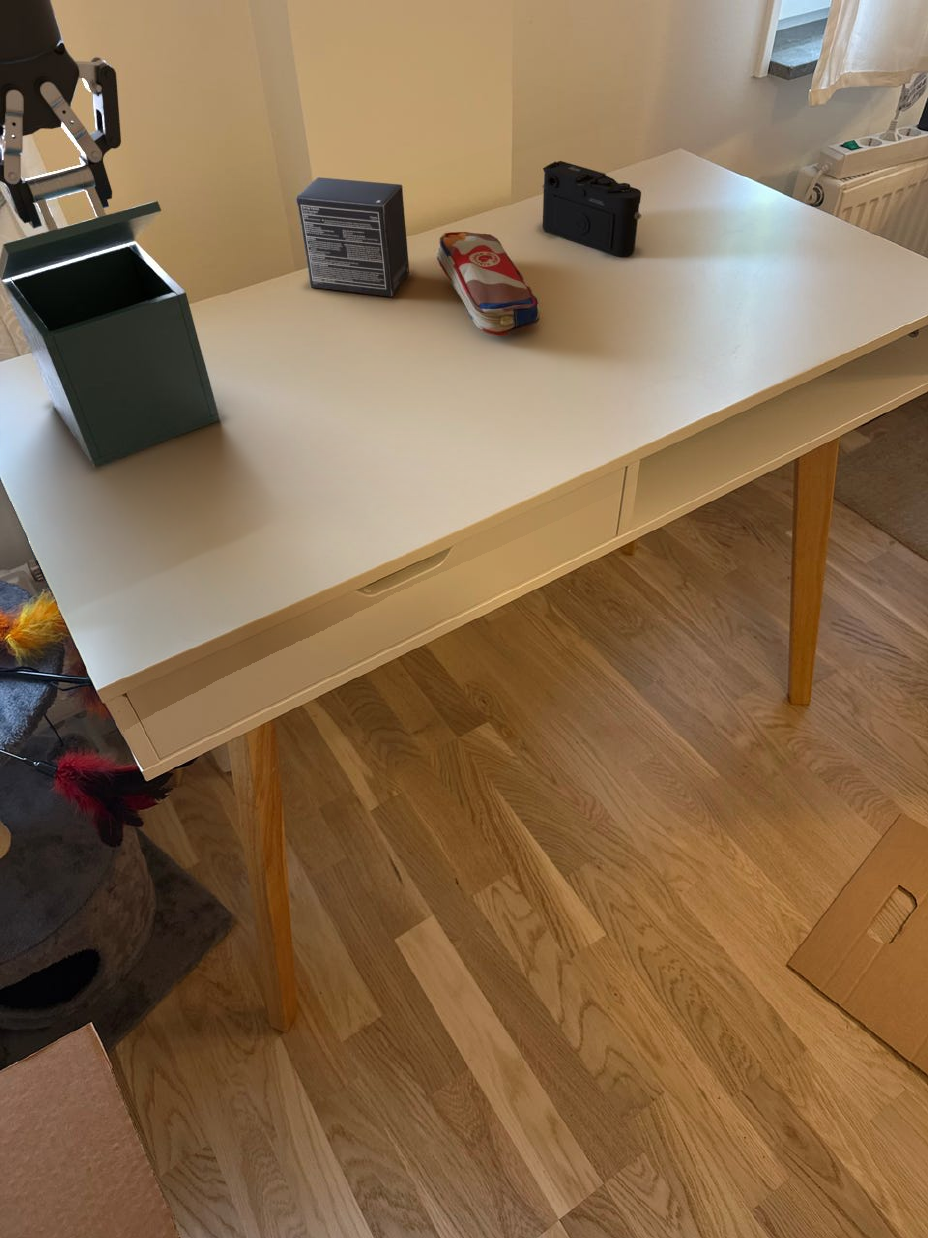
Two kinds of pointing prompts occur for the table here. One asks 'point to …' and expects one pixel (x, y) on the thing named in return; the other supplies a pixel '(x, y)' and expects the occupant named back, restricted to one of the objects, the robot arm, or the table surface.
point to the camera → (590, 208)
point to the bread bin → (115, 350)
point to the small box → (354, 235)
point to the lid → (73, 237)
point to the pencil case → (487, 282)
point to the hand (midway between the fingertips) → (68, 213)
